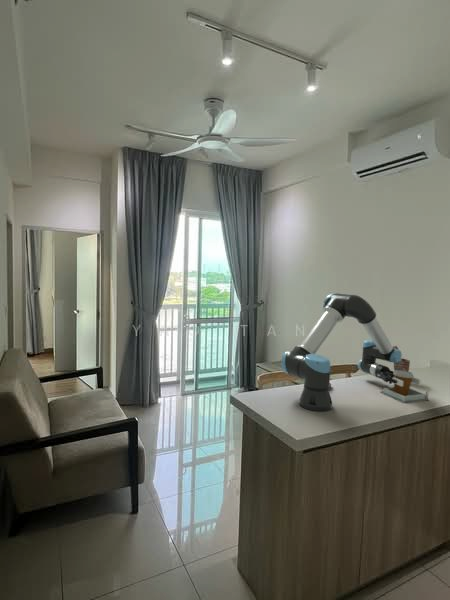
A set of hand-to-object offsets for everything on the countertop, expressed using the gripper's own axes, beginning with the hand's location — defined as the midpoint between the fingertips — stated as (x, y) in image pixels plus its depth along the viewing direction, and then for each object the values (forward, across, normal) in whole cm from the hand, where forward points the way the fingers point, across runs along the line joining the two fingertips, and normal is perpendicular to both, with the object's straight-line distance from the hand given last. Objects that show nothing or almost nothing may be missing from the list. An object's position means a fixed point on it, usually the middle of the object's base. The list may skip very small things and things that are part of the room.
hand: (411, 383), depth 186 cm
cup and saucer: (-29, +34, -9) cm, 46 cm away
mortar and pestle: (-28, -19, -9) cm, 35 cm away
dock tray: (-4, 0, -8) cm, 9 cm away
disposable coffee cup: (-5, +2, -8) cm, 9 cm away
